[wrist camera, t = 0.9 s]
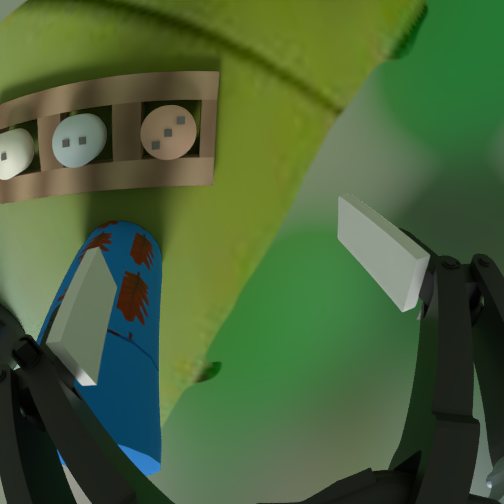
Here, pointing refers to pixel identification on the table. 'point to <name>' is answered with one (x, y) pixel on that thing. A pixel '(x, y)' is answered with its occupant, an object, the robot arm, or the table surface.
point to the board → (113, 134)
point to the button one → (15, 152)
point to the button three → (168, 132)
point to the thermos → (127, 342)
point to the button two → (79, 139)
